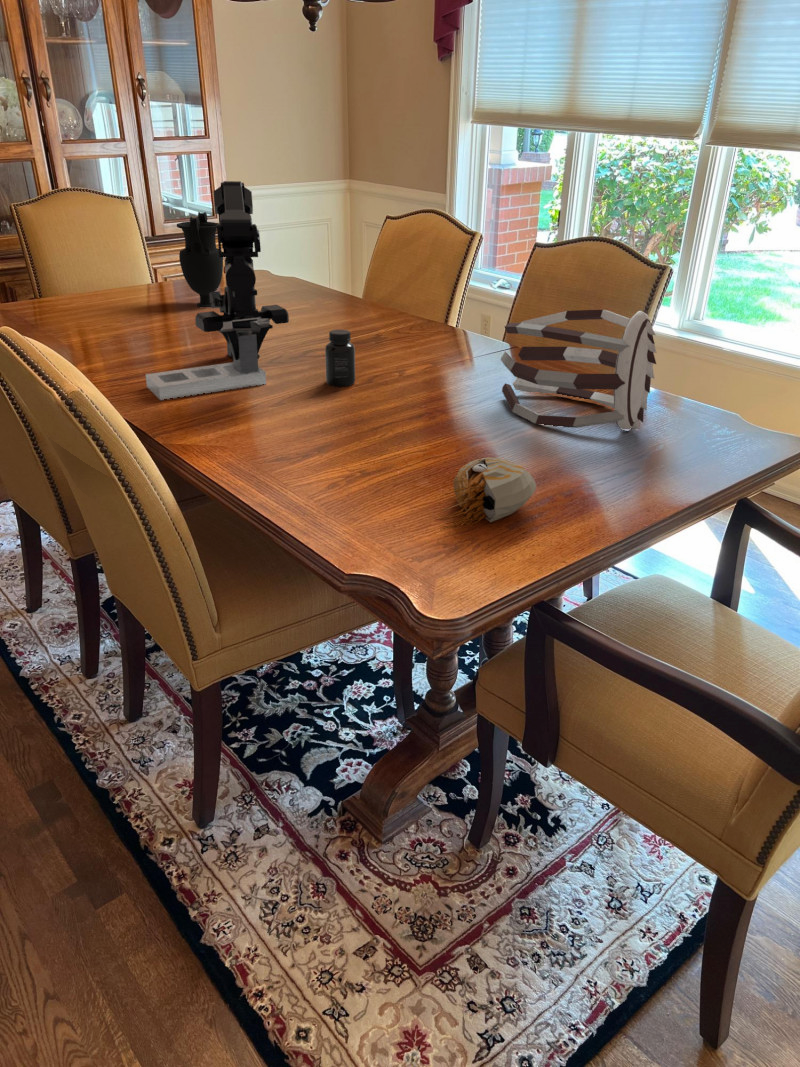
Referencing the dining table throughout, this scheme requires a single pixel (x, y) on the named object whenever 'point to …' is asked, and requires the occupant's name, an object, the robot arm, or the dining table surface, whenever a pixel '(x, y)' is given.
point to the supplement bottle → (340, 359)
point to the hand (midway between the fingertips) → (245, 358)
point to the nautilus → (490, 489)
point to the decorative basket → (628, 363)
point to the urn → (201, 257)
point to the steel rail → (201, 380)
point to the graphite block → (246, 352)
